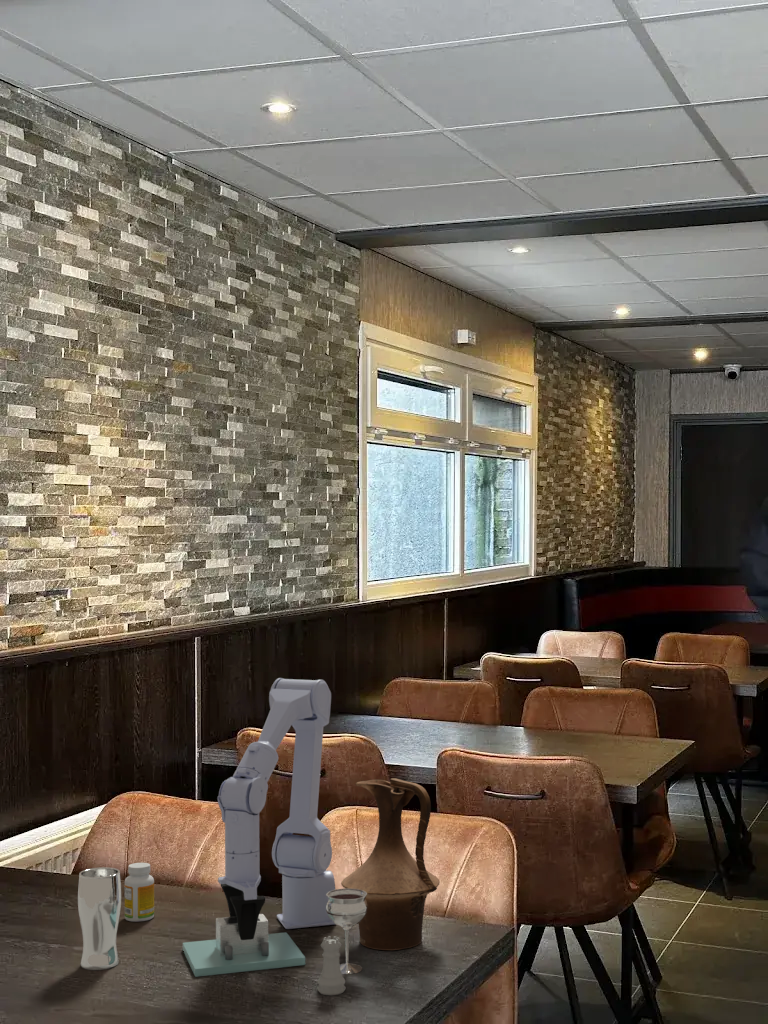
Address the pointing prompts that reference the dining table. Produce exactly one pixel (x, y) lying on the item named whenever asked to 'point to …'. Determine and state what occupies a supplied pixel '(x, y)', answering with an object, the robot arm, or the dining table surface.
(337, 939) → the rook chess piece
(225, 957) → the pin tray
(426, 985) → the dining table surface
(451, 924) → the dining table surface
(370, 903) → the pitcher
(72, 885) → the dining table surface
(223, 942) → the block
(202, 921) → the dining table surface
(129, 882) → the supplement bottle
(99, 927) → the beer glass
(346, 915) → the wineglass
